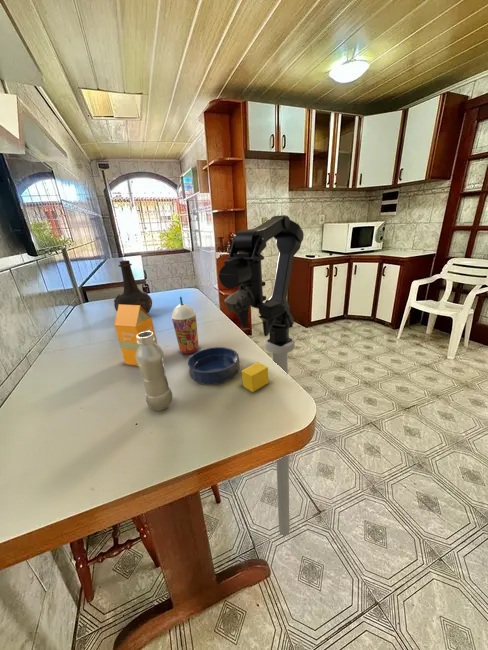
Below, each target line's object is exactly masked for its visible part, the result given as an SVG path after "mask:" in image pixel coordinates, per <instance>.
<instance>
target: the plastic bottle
mask: <svg viewBox="0 0 488 650" xmlns="http://www.w3.org/2000/svg"><path fill="white" fill-rule="evenodd" d="M137 340H138V341H137V342H138V344H139V347H138V349H137V352H136V357H135V358H136V361H137V364H138V368H139V370H140V373H141V377H142V379H143V382H144V389H145V401H146V404H147V406H148V408H149V409H151V410H153V411H157V412H158V411H159V412H160V411H162V410H163V411H164V410H165V409H167V408H168V407H170V406H171V404H172V403H173V399H174V398H173V392H172V389H171V387H170V385H169V381H168V378H167V374H166V368H165V357H164V356H165V355H164V351H163V349H162V347H161V346H160V345H159V344H158V343H157V344H156V343H155V342H154V341H155V338H154V336H153V332H150V331H146V332H142V333H139V334H138V335H137Z"/></svg>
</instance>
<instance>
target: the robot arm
mask: <svg viewBox="0 0 488 650" xmlns="http://www.w3.org/2000/svg"><path fill="white" fill-rule="evenodd" d="M290 218H291V217H290V216H288V215H286V214H284V215H283V214H282V215H273V216H271V217H270V218H269V219H268V220H266V221H264V222H263V223H261V224H259V225H258V226H256V227H254V228H248V229H242V230H238V231H236V233H235V234H234V237H233V239H232V243H231V246H230V250H229V253H228V256H227V259H225V260H223V262H224V265H223V266H222V267H221V268H220V270H219V274H218V278H219V282H220V283H221V285H222V286H223V287H224V288H226V289H228V290H233V289H235V288H237V290H236V291H235V292H233V293H231V294H228V295H227V296H226V297H225V299H224V304H225V306H226V308H227V310H228V312H231V313H234V314H236V315H237V317H238V320H239V322H240V325H241V327H242V328H243V329H246V328H247V326H248V321H249V320H248V319H249V310H250V309H249V308H250V307H251V308H254V309H258V313H259V316H258V318H259V319H260V320H261V321H262V329H263V330H262V331H263V336H264V337H267V336H268V337H270V339H268V340H267V342H270V343H272V344H275V345H277V346H283V345H285V344H287V343H289V342H291V341H292V339H291V338H289V336H290V329H291V328H293V327H294V321H295V318H294V316H293V315H292V313H291V312H290V310H291V307H290V304H289V302H288V292H289V287H290V281H291V274H292V268H293V263H294V258H295V255H296V254H297V253H298V252H299V250H300V249H301V246H302V242H303V241H304V231H303V229H302V228H301V226H300V224H299V223H297V222H295V221H293V220H291V219H290ZM272 238H273V239H274V240H275V246H276V248H277V250H278V260H277V264H276V265H277V266H276V271H275V276H274V283H273V288H272V294H271V297H270V298H269V299H267V296H266V295H264V291H263V287H264V286H266V281H263V271H262V261H263V260H265V256H264V255H263V254H262V252H263V251H264V250H265V249H266V247H267V242H268V241H270V240H271V239H272Z"/></svg>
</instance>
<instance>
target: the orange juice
mask: <svg viewBox="0 0 488 650" xmlns="http://www.w3.org/2000/svg"><path fill="white" fill-rule="evenodd" d="M113 325H114V329H115V332H116V336H117V339H118V343H119V346H120V350H121V352H122V353H121V354H122V356H123V360H124V364H125V365H128V366H129V365H130V366H131V365H132V366H136V367H137V366H138V364H137V361H136V358H135V357H136V352H137V349H138V347H139V344H138V342H137V341H138V340H137V335H138V334H139V333H142V332H146V331H150V332H153V336H154V338H155V341H154V342H155V343H156V344H158V339H157V335H156V331H155V327H154V323H153V318H152V317H151V315H149V314H148V313H146V312H145V310H144V309H143V308H142V307H141V306H140V305H122V304H119V306H118V311H116V315H115V320H114V324H113ZM138 367H139V366H138Z"/></svg>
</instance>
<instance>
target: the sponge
mask: <svg viewBox="0 0 488 650" xmlns="http://www.w3.org/2000/svg"><path fill="white" fill-rule="evenodd" d="M241 378H242V387H244V388H245V389H247V390H248V391H250V392H252V393H254V392H256V391H257V390H259V389H261V388H263V387H264V386H265V385H267V384H269V367H268V366H266V365H264V364H262V363H260V362H255V363H254V364H252V365H250V366H248V367H245V368H244V369H242V370H241Z"/></svg>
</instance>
